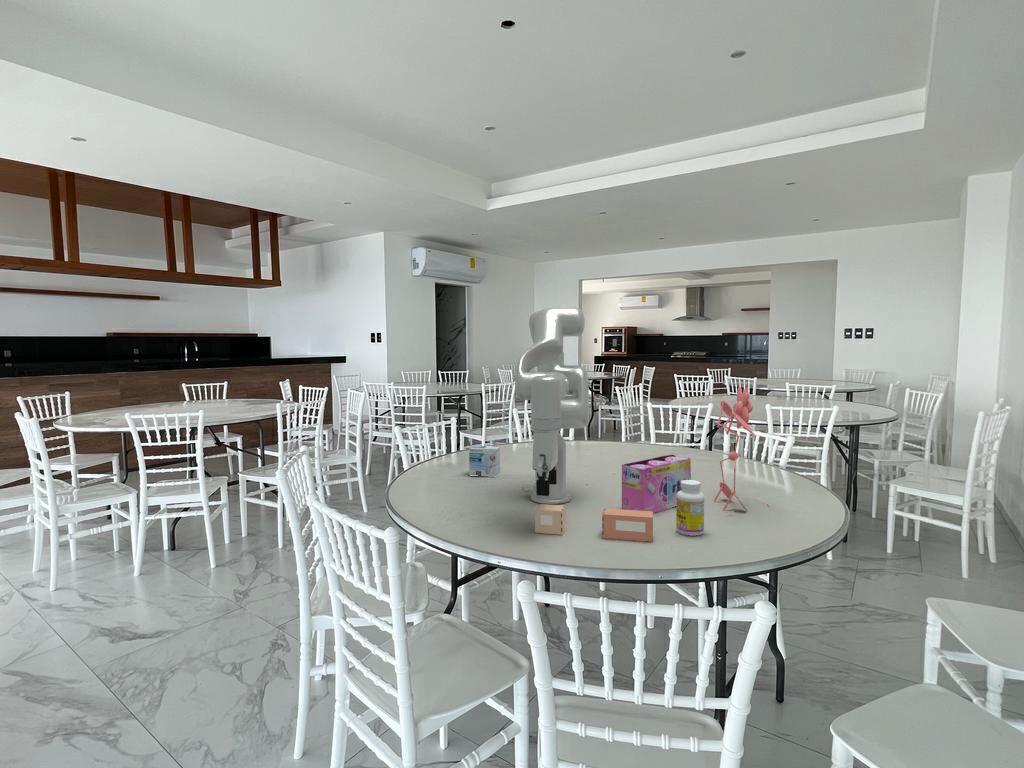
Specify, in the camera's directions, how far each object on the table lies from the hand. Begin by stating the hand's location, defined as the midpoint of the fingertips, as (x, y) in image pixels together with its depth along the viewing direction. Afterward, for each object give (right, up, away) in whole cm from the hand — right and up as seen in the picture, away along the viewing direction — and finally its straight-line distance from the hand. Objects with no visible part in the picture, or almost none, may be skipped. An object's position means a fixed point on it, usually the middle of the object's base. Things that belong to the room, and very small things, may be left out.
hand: (546, 489), depth 139 cm
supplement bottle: (+36, -10, -3) cm, 38 cm away
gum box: (+34, -9, +20) cm, 40 cm away
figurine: (+58, -9, +19) cm, 62 cm away
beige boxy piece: (+1, -10, -1) cm, 10 cm away
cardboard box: (+20, -11, -6) cm, 23 cm away
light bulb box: (-19, -7, +62) cm, 65 cm away
